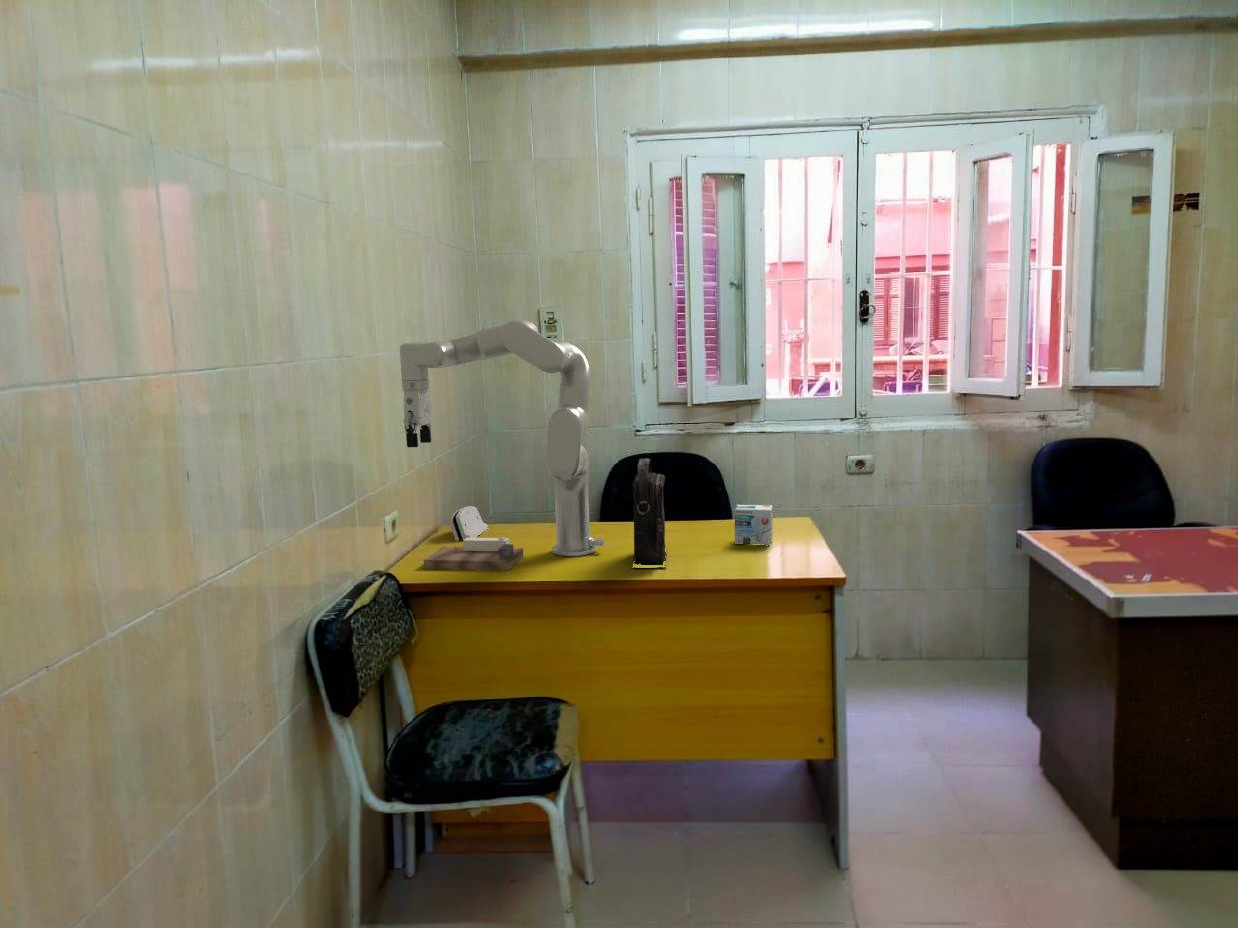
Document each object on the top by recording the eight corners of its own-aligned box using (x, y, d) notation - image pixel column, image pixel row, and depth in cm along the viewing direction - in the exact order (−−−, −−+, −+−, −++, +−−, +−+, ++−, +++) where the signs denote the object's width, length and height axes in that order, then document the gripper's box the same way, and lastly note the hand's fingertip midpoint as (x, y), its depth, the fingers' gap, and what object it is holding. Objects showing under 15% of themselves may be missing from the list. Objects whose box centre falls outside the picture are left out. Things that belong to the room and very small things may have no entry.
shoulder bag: (635, 548, 254) (632, 452, 249) (666, 547, 253) (664, 452, 249) (631, 569, 231) (628, 465, 227) (665, 569, 231) (663, 464, 226)
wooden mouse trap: (523, 556, 248) (522, 537, 247) (508, 570, 234) (507, 550, 233) (442, 555, 252) (441, 536, 251) (424, 568, 238) (422, 549, 237)
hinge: (471, 541, 267) (458, 511, 267) (457, 546, 268) (445, 516, 268) (489, 529, 284) (478, 500, 283) (477, 533, 285) (465, 505, 284)
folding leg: (509, 548, 246) (508, 536, 246) (506, 551, 243) (505, 539, 243) (467, 547, 248) (466, 536, 248) (463, 550, 246) (462, 538, 245)
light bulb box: (734, 545, 254) (733, 508, 252) (736, 539, 260) (736, 504, 259) (771, 546, 251) (771, 509, 250) (773, 540, 258) (773, 504, 256)
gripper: (415, 388, 243) (419, 448, 246) (439, 383, 260) (442, 440, 263) (390, 388, 245) (394, 449, 247) (415, 384, 262) (418, 441, 264)
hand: (419, 444), depth 255 cm, fingers open, 9 cm apart
